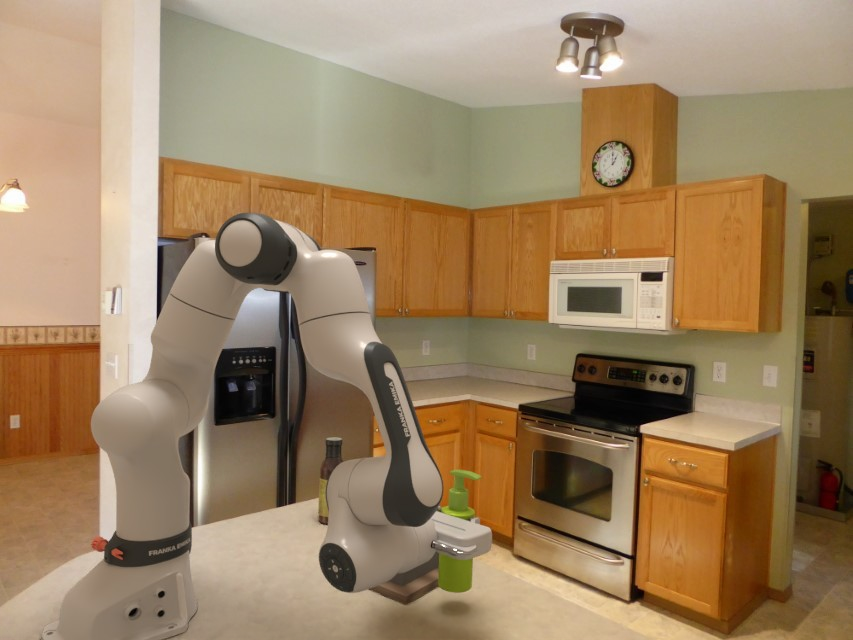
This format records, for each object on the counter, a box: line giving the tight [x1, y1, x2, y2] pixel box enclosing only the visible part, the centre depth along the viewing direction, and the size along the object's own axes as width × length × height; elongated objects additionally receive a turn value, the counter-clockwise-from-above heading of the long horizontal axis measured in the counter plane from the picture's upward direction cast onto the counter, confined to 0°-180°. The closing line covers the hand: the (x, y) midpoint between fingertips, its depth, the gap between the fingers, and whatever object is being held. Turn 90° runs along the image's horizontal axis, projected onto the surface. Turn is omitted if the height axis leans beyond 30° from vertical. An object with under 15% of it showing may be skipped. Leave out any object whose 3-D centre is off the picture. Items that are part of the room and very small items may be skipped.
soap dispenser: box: [438, 469, 483, 594], centre depth 105 cm, size 6×7×20 cm
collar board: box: [368, 552, 439, 606], centre depth 118 cm, size 18×18×6 cm
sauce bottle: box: [317, 436, 344, 525], centre depth 146 cm, size 7×6×20 cm
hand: (459, 516), depth 105 cm, fingers closed on soap dispenser, 6 cm apart
